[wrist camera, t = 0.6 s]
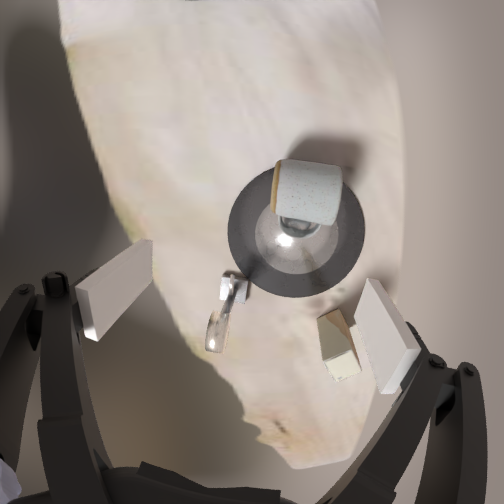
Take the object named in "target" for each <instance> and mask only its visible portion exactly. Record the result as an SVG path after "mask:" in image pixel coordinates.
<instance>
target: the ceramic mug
mask: <svg viewBox="0 0 504 504" xmlns="http://www.w3.org/2000/svg"><path fill="white" fill-rule="evenodd" d="M342 185H343V177H342V170H341V168H340V166H337V165H330V164H323V163H317V162H308V161H301V160H293V159H286V160H279V161H278V162H277V163H276V165H275V169H274V175H273V182H272V189H271V201H270V209H271V211H272V212H273V213H275V214H277V215H278V224H279V227H280V229H281V230H282V231H283V232H284V233H285V234H286V235H288V236H291V237H293V238H298V239H306V238H309V237H311V236H313V235H314V234H316V233H317V232H318V231H319V229H320V228H321V226H322V224H323V225H328V226H331V225H333V224H334V222H335V220H336V217H337V214H338V210H339V206H340V201H341V194H342ZM282 216H283V217H287V218H294V219H300V220H304V221H309V222H314V223H317V224H316V225H315V226H314V227H313V228H311V229H309V230H304V231H303V230H298V229H294V228H292V227H288V226H286V225H285V223H284V222H283V220H282Z"/></svg>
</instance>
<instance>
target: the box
mask: <svg viewBox="0 0 504 504" xmlns="http://www.w3.org/2000/svg"><path fill="white" fill-rule="evenodd" d="M317 326H318V332H319V339H320V346H321V353H322V360H323V364H324V365H325V367H326V369H327V370H328V372H329V373H330V375H331V377H332V378H333V380H334V381H335V382H339V381H341V380H344V379H346V378H348V377H351V376H353V375H355V374H357V373H359V372H361V371H362V369H361V366H360V362H359V359H358V356H357V352H356V349H355V346H354V342H353V339H352V336H351V333H350V330H349V327H348V325H347V323H346V321H345V319H344V317H343V315H342V313H341V311H340V309H337V310H335V311H332V312H330V313H328V314H326V315H324V316H322V317H320V318H318V319H317Z"/></svg>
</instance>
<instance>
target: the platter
mask: <svg viewBox="0 0 504 504" xmlns="http://www.w3.org/2000/svg"><path fill="white" fill-rule="evenodd" d="M274 169H275V168H274ZM274 169H271V170H269V171H267V172H264V173H262V174H261V175H259V176H258V177H256V178H255V179H254V180H252V181H251V182H250V183H249V184H248V185H247V186H246V187H245V188H244V189H243V190H242V191H241V193H240V194H239V196H238V197H237V199H236V201H235V203H234V205H233V207H232V210H231V213H230V216H229V222H228V242H229V247H230V251H231V253H232V256H233V259H234V260H235V262H236V264H237V266H238V267H239V269H240V270H241V272H242V273H243V274H244V275H245V276H246V277H247V278H248V279H249V280H250V281H251V282H252V283H254V284H255V285H256V286H258V287H260V288H261V289H263V290H265V291H267V292H269V293H272V294H275V295H279V296H284V297H292V298H296V297H307V296H312V295H316V294H319V293H322V292H324V291H326V290H328V289H330V288H332V287H333V286H335V285H336V284H338V283H339V282H340V281H341V280H342V279H343V278H345V277H346V276H347V274H348V273H349V272H350V271H351V270H352V268H353V267H354V265H355V263H356V262H357V260H358V257H359V255H360V252H361V249H362V246H363V241H364V220H363V216H362V212H361V209H360V206H359V204H358V202H357V200H356V198H355V196H354V195H353V194H352V192H351V191H350V189H349V188H348V187H347V186H346V185H345V184H344V183H343V185H342V194H341V201H340V206H339V210H338V214H337V217H336V220H335V222H334V224H333V225H331V226H328V225H323V224H322V226H321V228H320V229H319V231H318V232H317V233H316V234H314V235H313V236H311V237H309V238H306V239H298V238H293V237H291V236H288V235H286V234H285V233H284V232H283V231H282V230H281V229H280V227H279V224H278V215H277V214H275V213H273V212H272V211H271V209H270V201H271V189H272V182H273V175H274ZM282 220H283V222H284V223H285V225H286V226H288V227H292V228H294V229H298V230H303V231H304V230H309V229H311V228H313V227H314V226H315V225H316V224H317V223H314V222H309V221H304V220H300V219H294V218H287V217H283V216H282Z"/></svg>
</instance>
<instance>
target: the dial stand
mask: <svg viewBox="0 0 504 504" xmlns="http://www.w3.org/2000/svg"><path fill="white" fill-rule="evenodd" d="M248 280H249V279H248V278H243V277H237V276H235V275H234V274H231V275H225V274H223V275H222V280H221V291H220V300H225V303H224V305H223V308H222V311H221V312H218V311H213V312H212V314H211V316H210V319H209V323H208V327H207V332H206V340H205V349H206V351H209V352H214V353H219V354H224V351H225V348H226V344H227V339H228V334H229V328H230V320H231V314H230V312H231V309H232V306H233V303H234V302H237V303H243V304H245V301H246V294H247V287H248Z"/></svg>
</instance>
